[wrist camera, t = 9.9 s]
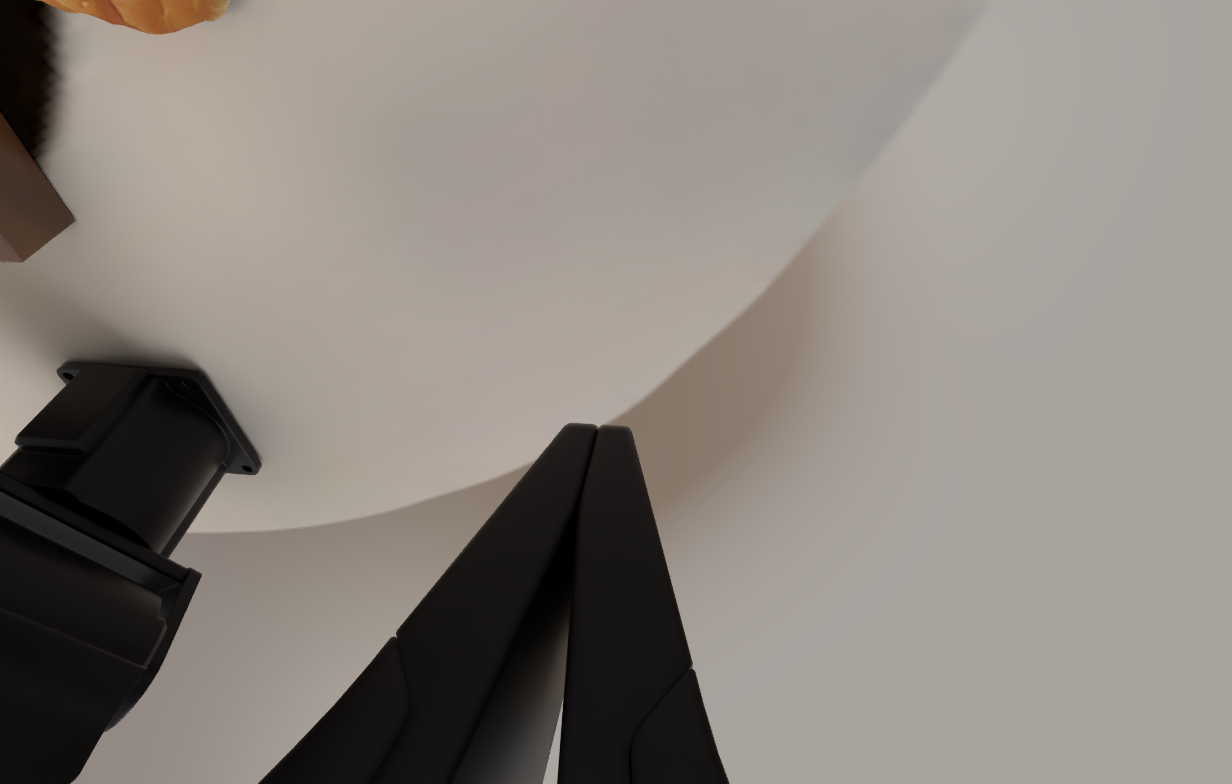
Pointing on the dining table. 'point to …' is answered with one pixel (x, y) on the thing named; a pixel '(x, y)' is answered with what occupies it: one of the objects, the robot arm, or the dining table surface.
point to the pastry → (148, 12)
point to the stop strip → (25, 201)
